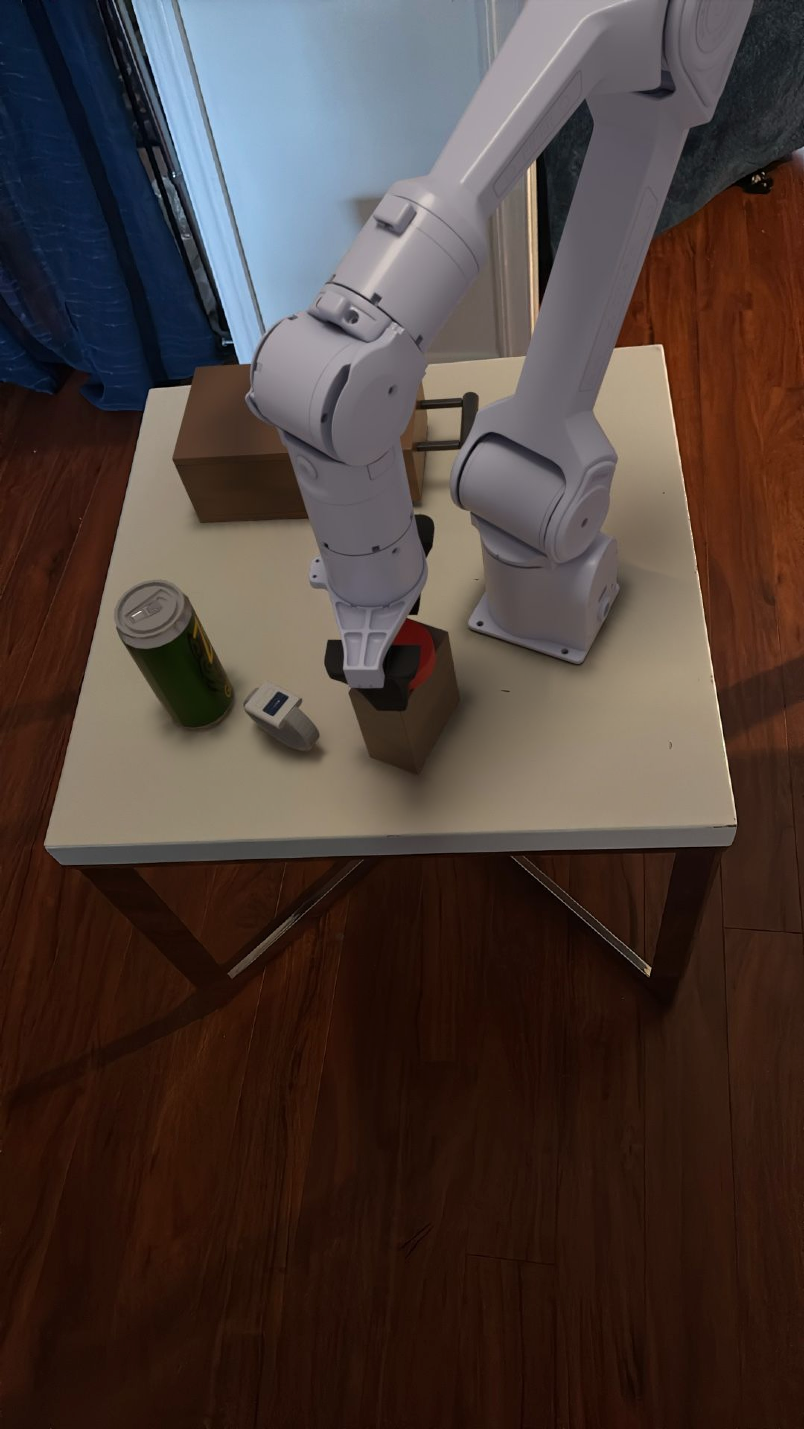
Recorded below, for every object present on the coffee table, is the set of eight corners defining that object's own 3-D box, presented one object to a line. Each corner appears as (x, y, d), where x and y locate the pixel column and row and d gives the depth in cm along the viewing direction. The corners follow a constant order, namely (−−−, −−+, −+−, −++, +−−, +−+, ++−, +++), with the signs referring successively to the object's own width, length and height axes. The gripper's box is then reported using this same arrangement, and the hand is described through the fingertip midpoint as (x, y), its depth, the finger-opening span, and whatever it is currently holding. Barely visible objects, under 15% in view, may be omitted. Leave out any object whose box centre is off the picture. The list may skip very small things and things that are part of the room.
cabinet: (358, 425, 95) (343, 356, 88) (346, 516, 89) (328, 450, 82) (220, 433, 97) (195, 366, 90) (199, 522, 91) (171, 458, 85)
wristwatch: (246, 733, 78) (227, 698, 74) (268, 707, 79) (251, 670, 75) (309, 769, 76) (294, 734, 72) (332, 741, 77) (317, 705, 73)
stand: (460, 699, 77) (448, 631, 70) (417, 775, 74) (400, 712, 67) (412, 682, 79) (396, 614, 72) (369, 756, 76) (347, 692, 69)
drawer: (482, 414, 92) (477, 361, 87) (479, 497, 87) (473, 445, 82) (297, 425, 94) (281, 374, 90) (282, 506, 89) (265, 456, 84)
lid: (448, 644, 70) (446, 631, 68) (414, 702, 68) (411, 690, 66) (383, 622, 71) (380, 609, 70) (348, 678, 69) (344, 665, 68)
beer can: (187, 745, 79) (130, 653, 69) (156, 698, 81) (97, 603, 71) (248, 707, 80) (200, 612, 70) (216, 663, 82) (166, 564, 72)
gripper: (311, 426, 62) (352, 573, 73) (271, 621, 55) (323, 750, 66) (428, 422, 61) (451, 571, 72) (403, 621, 53) (433, 753, 65)
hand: (397, 657), depth 69 cm, fingers open, 7 cm apart
